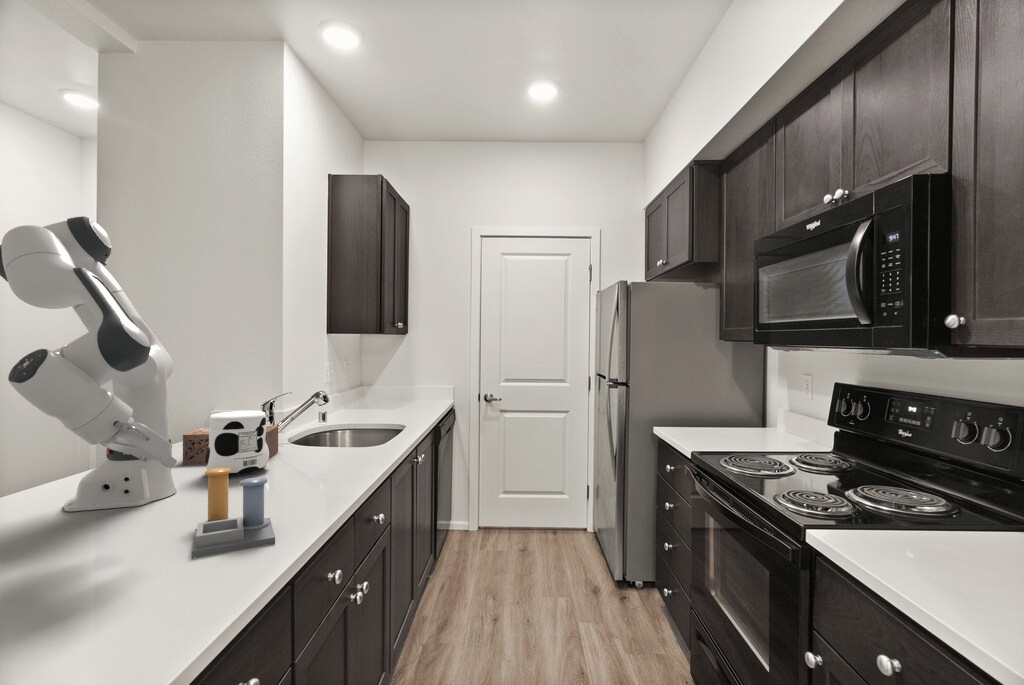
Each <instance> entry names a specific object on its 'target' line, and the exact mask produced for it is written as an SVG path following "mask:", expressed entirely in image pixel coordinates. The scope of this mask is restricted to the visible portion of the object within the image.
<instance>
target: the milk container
mask: <svg viewBox="0 0 1024 685" xmlns="http://www.w3.org/2000/svg"><path fill="white" fill-rule="evenodd" d="M209 416H210V417H209V421H208V427H209V446H208V450H207V453H206V457H205V463H206V464H205V468H206V471H207V470H211V469H216V468H230V469H231V473H228V477H231V476H232V477H233V476H242V475H248V474H252V473H256V472H258V471H261V470H264V469H265V468H266V467H267V465H268V463H269V460H270V459H269V449H268V446H267V442H266V426H267V424H266V422H267V418H266V417H267V416H266V412H265V411H260V410H239V411H238V410H237V411H226V412H218V413H213V414H211V415H209Z"/></svg>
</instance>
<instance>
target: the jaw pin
mask: <svg viewBox="0 0 1024 685" xmlns="http://www.w3.org/2000/svg"><path fill="white" fill-rule="evenodd" d="M228 473H231V469H230V468H216V469H211V470H207V469H206V471H204V476H207V522H208V521H209V522H211V521H218V520H225V519H229V476H228Z"/></svg>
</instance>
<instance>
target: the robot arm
mask: <svg viewBox="0 0 1024 685" xmlns="http://www.w3.org/2000/svg"><path fill="white" fill-rule="evenodd" d="M112 247H113V245H112V244H111V240H110V237H109V234H108V233H107V231H106V230H105V229H104V228H103V227H102V226H101V225H100V224H98V223H97V222H96V221H95V220H94V219H92V218H89V217H88V216H84V215H83V216H74V217H69V218H67V220H63V221H58V222H55V223H50V224H48V225H44V226H40V225H39V226H38V225H33V224H32V225H31V224H29V225H28V224H27V225H26V224H25V225H19V226H16V227H13V228H11V229H10V230H8V231H7V232H5V234H4V235H3V237H2V240H1V244H0V277H2V278H3V280H5V281H6V282H7V284H8V286H9V287H10V290H11V291H12V292H13V294H14V295H15V297H17V298H18V299H19V300H21V301H22V302H24V303H26V304H28V305H30V306H33V307H36V308H42V309H48V310H49V309H50V310H57V309H67V308H70V307H72V308H73V311H74V312H75V313H76V316H78V318H79V319H80V321H81V322H82V324H83V326H84V327H85V329H86V330H87V331H88V332H87V333H85V334H83V335H81V336H80V337H78V338H76V339H75V340H73V341H71V342H69V343H67V344H64V345H63V346H61V347H60V348H56V349H54V350H50V349H47V348H40V349H36V350H34V351H32V352H29V353H28V354H26V355H25V356H23V357H22V358H21V359H20V360H19V361H17V362H16V364H15V365H14V366H13V367H12V368H11V369H10V371H9V374H8V377H7V378H8V379H7V380H8V383H9V384H10V385H11V387H12V388H13V389H14V390H15V391H16V392H17V393H18V394H19V395H20V396H22V398H24V400H26V401H27V402H29V403H30V404H31V405H32V406H34V407H36V408H37V409H38V410H39V411H40V412H42V413H43V414H45V415H47V416H49V417H52V418H55V419H57V420H59V421H60V422H61V423H62V424H63V426H64V427H65V429H67V430H68V431H70V432H71V433H73V434H74V435H76V436H77V437H79V438H80V439H82V440H84V441H85V442H86V443H88V444H89V445H95V446H96V445H98V444H99V445H101V446H103V447H104V448H106V460H105V461H103V462H102V463H101V464H99V465H98V466H96V467H95V468H94V469H92V470H91V471H89V472H88V473H87V474H86V475H85V476H83V477H82V478H81V479H80V481H79V483H78V485H77V488H76V494H75V495H73V496H71V497H70V498H69V499H67V500H66V501H65V502H64V504H63V510H64V511H66V512H79V511H93V510H104V509H105V510H106V509H116V508H117V509H118V508H127V507H128V508H129V507H139V506H143V505H145V504H149V503H150V502H151V503H152V502H154V501H157V500H162V499H165V498H167V497H170V496H172V495H174V494H175V493H176V492H177V488H176V485H175V482H174V479H173V474H172V468H174V466H175V465H176V464H177V463H178V460H177V459H176V458H174V457H173V456H172V455H173V454H172V453H173V451H172V449H173V444H172V439H171V438H170V406H169V402H168V394H167V393H168V392H167V383H166V381H167V380H168V379H169V378H170V377H171V375H172V373H173V371H174V362H173V359H172V356H170V354H169V353H168V351H167V350H166V348H165V347H164V346H163V344H162V343H161V341H160V340H159V339H158V338H157V336H156V335H155V334H154V332H153V331H152V330H151V328H150V327H149V326H148V325H147V324H146V323H145V321H144V320H143V318H142V317H141V316H140V313H139V312H138V310H137V309H136V308H135V306H134V305H133V303H132V302H131V300H130V298H129V297H128V295H127V294H126V292H125V291H124V290H123V288H122V287H121V285H120V283H119V282H118V281H117V280H116V279H115V277H114V276H113V275H112V274H111V273H110V271H108V269H107V268H106V267H107V265H108V258H109V257H110V256H111V253H112ZM110 381H111V383H112V384H111V385H112V391H113V392H112V391H109V390H106V389H104V388H103V387H101V386H104V385H105V384H107V383H108V382H110Z"/></svg>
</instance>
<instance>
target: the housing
mask: <svg viewBox="0 0 1024 685" xmlns="http://www.w3.org/2000/svg"><path fill="white" fill-rule="evenodd" d="M266 483H267V484H268V478H267V477H261V476H260V477H251V478H244V479H241V480H240V481H239V486H241V487H242V516H241V517H240V516H239V517H233V518H228V519H225V520H218V521H211V522H208V521H206V522H200V523H197V527H196V528H195V531H194V536H193V537H194V538H193V545H192V551H191V552H192V554H191V558H192V559H193V558H200V557H205V556H210V555H217V554H222V553H226V552H228V553H229V552H233V551H238V550H245V549H250V548H257V547H262V546H267V545H275V544H276V535H275V533H274V532H275V531H274V528H273V524H272V521H271V517H265V484H266Z"/></svg>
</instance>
